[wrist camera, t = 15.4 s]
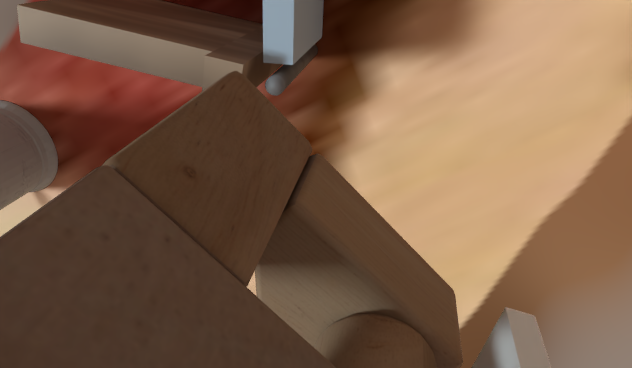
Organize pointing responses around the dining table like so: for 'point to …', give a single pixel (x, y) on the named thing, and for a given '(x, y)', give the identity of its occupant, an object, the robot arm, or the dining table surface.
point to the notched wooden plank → (157, 40)
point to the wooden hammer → (219, 258)
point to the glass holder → (23, 154)
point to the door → (290, 29)
